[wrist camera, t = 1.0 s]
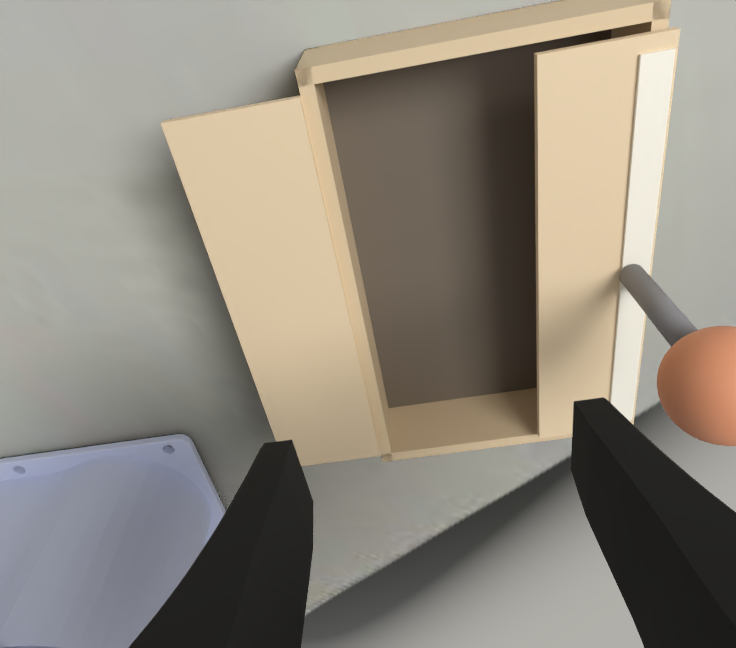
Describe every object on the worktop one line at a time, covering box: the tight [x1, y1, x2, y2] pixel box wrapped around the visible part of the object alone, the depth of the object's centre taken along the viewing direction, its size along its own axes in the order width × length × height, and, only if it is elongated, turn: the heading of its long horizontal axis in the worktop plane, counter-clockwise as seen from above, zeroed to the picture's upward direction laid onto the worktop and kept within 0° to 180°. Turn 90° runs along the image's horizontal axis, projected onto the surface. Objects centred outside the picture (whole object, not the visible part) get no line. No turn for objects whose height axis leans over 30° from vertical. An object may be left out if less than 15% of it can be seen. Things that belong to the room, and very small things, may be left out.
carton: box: [161, 0, 671, 466], centre depth 19 cm, size 13×14×4 cm
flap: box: [534, 27, 736, 446], centre depth 14 cm, size 4×13×7 cm, turn 10°
